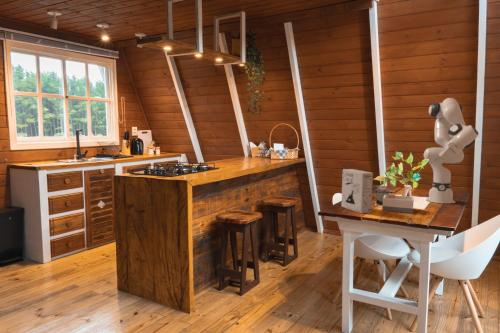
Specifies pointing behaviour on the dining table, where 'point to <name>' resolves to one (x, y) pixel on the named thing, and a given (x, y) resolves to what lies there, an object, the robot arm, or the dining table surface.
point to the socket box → (398, 204)
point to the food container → (381, 195)
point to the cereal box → (357, 190)
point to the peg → (391, 196)
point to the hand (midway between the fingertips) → (435, 162)
